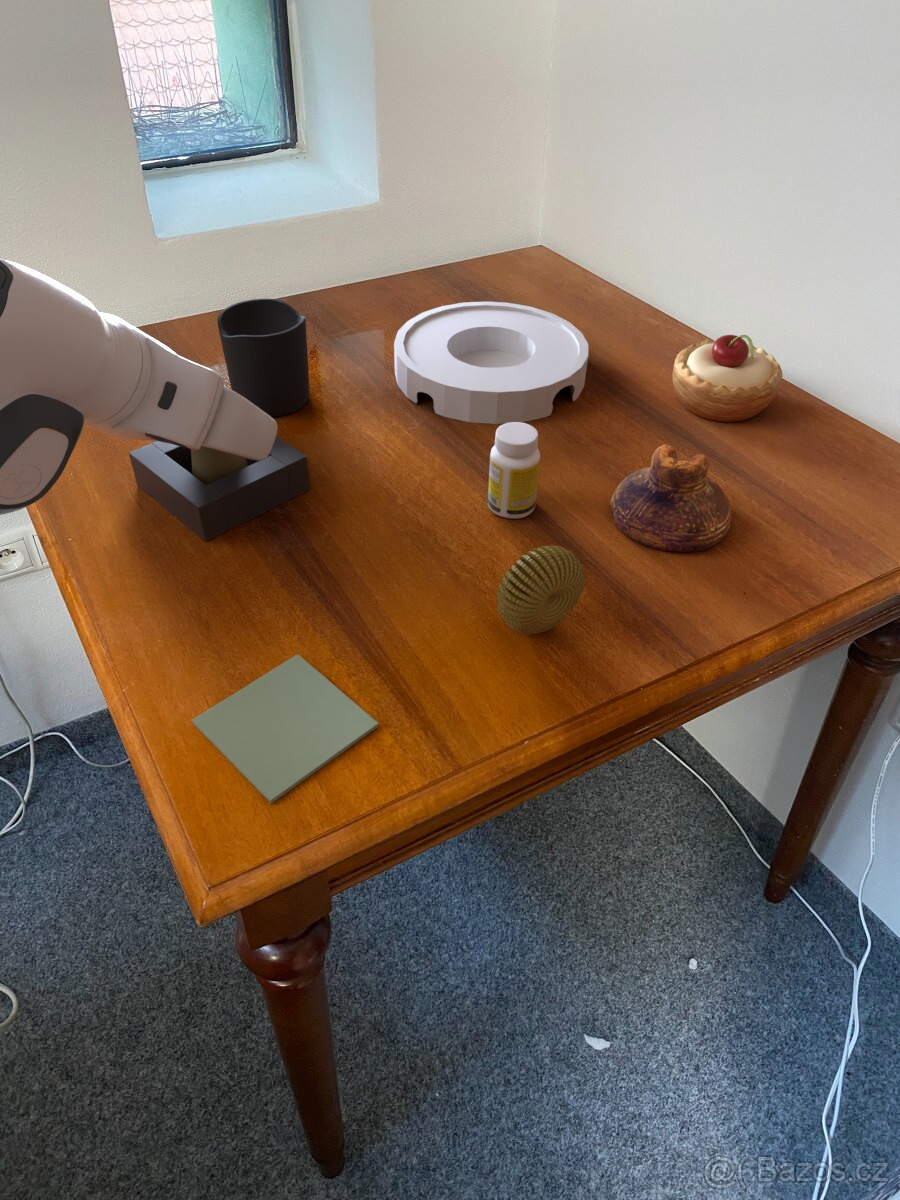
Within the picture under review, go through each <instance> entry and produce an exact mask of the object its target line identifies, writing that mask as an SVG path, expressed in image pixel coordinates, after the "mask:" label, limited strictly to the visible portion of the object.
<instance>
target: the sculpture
mask: <svg viewBox="0 0 900 1200" xmlns="http://www.w3.org/2000/svg"><path fill="white" fill-rule="evenodd" d="M499 583H500V584H499V586H498V589H497V595H496V606H497V610H498V614H499V616H500V618H501V620H502V621H503V622H504V623H505V625H506V626H507V627H509V628H510V629H512V630H513V631H515V632H517V633H521V634H525V635H536V634H540V633H544V632H546V631H549V630H551V629H553V628H555V627H556V626H557V625H560V624H561V623H562V621H564V620H565V619H567V616H570V614H571V612H573V610H574V609H575V607H576V606H577V605H578V603H579V601H580V599H581V597H582V595H583V591H584V587H585V572H584V567H583V565H582V563H581V561H580V559H579V558H578V557H577V555H576V554H575V553H574V552H572V551H570V550H569V549H568V548H565V547H563V546H560V545H550V544H549V545H542V546H539V547H535V548H533V549H531V550H529V551H527V552H526V553H524V554H522V555H520V557H519V558H516V560H515V561H514V563H512V564H511V565H510V566H509V568H508V569H507V570H506V571H505V574H504V575H503V576H502V579H501V581H500V582H499Z"/></svg>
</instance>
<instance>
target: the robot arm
mask: <svg viewBox="0 0 900 1200" xmlns="http://www.w3.org/2000/svg"><path fill="white" fill-rule="evenodd" d="M225 381H226V378H225V377H224V376H223V375H222V374H220V373H218V372H216V371H215V370H213V369H212V368H209V367H207V366H205V365H203V364H201V363H198V362H196V361H194V360H191V359H189V358H187V357H184V356H183V355H180V354H178V353H177V352H175V351H174V350H173V349H171V348H170V347H169V346H167V345H165V344H164V343H162V342H161V341H159V340H158V339H156V338H154V337H152V336H150V335H149V334H147V333H146V332H145V331H143V330H140V329H139V328H138V327H135V326H134V325H132V324H130V323H128V322H127V321H125V320H124V319H122V318H120V317H118V316H116V315H113V314H110V313H107V312H100V311H98V309H97V308H96V307H95V305H94V304H93V303H92V302H91V301H90V300H88V299H87V298H86V297H85V296H83V295H81V293H79V292H76V291H75V290H73V289H71V288H70V287H67V286H66V285H64V284H63V283H60V282H59V281H57V280H55V279H53V278H51V277H49V276H47V275H45V274H43V273H41V272H38V271H37V270H35V269H32V268H30V267H27V266H25V265H23V264H20V263H17V262H14V261H11V260H8V259H4V258H1V257H0V516H2V515H7V514H11V513H14V512H18V511H21V510H22V509H25V508H27V507H29V506H32V505H33V504H34V503H36V502H38V501H39V500H41V499H42V498H43V497H44V496H45V495H47V494H48V492H49V491H50V490H51V489H52V488H53V486H54V485H55V484H56V483H57V481H58V480H59V478H60V477H61V476H62V474H63V473H64V470H65V468H66V466H67V464H68V462H69V460H70V458H71V455H72V454H73V453H74V450H75V449H76V446H77V444H78V441H79V439H80V437H81V434H82V431H83V429H84V426H85V427H88V428H90V429H93V430H96V431H97V432H100V433H103V434H105V435H108V436H111V437H113V438H115V439H119V440H128V441H129V440H137V441H152V442H155V441H160V442H164V443H169V444H173V445H177V446H180V447H184V448H186V447H187V448H190V449H193V450H199V449H200V447H201V446H203V447H207V448H211V449H215V450H218V451H222V452H226V453H229V454H233V455H236V456H240V457H244V458H247V459H252V460H256V461H263V460H265V459H266V458H267V457H268V455H269V453H270V451H271V449H272V446H273V444H274V441H275V438H276V436H278V428H279V426H278V423H277V420H275V419H274V417H271V416H269V415H268V414H267V413H265V412H264V411H263V410H261V409H260V408H258V407H257V406H256V405H254V404H253V403H251V402H250V401H249V400H247V399H246V398H244V397H243V396H241V395H240V394H238V393H236V392H234V391H233V390H232V389H231V388H229V387H227V386H226V385H225ZM225 386H226V387H225Z"/></svg>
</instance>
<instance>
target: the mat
mask: <svg viewBox="0 0 900 1200" xmlns="http://www.w3.org/2000/svg"><path fill="white" fill-rule="evenodd" d="M191 723H192V725H193V726H194V727H196V728H197V729H198V731H199V732H201V734H202V735H203V736H204V737H205V738H206V739H207V740H208V741H209V742H210V743H211V744H212V745H213V747H215V748H216V749H217V750H218V751H219V752H220V753H221V754H222V755H223V756H224V757H225V758H226V759H227V761H229V762H230V764H231V765H233V766H234V768H235V769H236V770H238V772H239V773H240V774H241V775H242V776H243V777H244V778H245V779H246V780H247V781H248V782H249V783H250V784H251V785H252V786H253V787H254V788H255V789H256V790H257V791H258V792H259V794H261V795H262V796H263V797H264V799H266V800H267V801H268V802H269V804H273V803H274V802H276V801H277V800H279V799H280V798H282V797H283V796H284V795H285V794H287V793H288V792H290V791H291V790H292V789H294V788H295V787H296V786H298V785H300V784H301V783H303V782H304V781H305V780H306V779H308V778H309V777H310V776H312V775H313V774H315V773H316V772H317V771H319V770H320V769H321V768H323V767H325V766H327V764H329V763H330V762H331V761H333V760H335V758H338V756H340V755H341V754H343V753H344V752H345V751H346V750H348V749H349V748H351V747H352V746H354V745H355V744H357V742H359V741H361V740H362V739H363V738H364V737H366V736H367V735H369V734H370V733H372V732H373V731H375V730H376V729H377V728H378V727H379V726H380V725H379V722H378V721H377V720H376V719H374V718H373V716H371V715H370V714H369V713H368V712H366V711H365V710H364V709H363V708H362V707H361V706H360V705H358V704H357V703H356V702H354V700H352V699H351V698H350V697H349V696H347V695H346V694H345V693H344V692H343V691H342V690H340V689H339V688H338V687H337V686H336V685H335V684H334V683H332V682H331V681H330V680H329V679H328V678H327V677H325V676H324V675H323V674H322V673H321V672H319V671H318V669H316V668H315V667H314V666H313V665H311V664H310V663H309V662H308V661H307V660H305V659H304V658H303V657H302V656H301V655H300V654H298V653H297V654H295V655H294V656H292V657H289V659H287V660H286V661H284V662H282V663H281V664H279V665H277V666H276V667H274V668H273V669H271V670H269V671H268V672H266V673H265V674H263V675H262V676H260V677H259V678H257V679H255V680H253V681H251V682H250V683H249V684H247V685H245V686H244V687H242V688H240V689H239V690H237V691H236V692H234V693H232V694H231V695H229V696H227V697H226V698H225V699H223V700H221V701H219V702H218V703H216V704H215V705H213V706H212V707H210V708H208V709H207V710H205V711H204V712H202V713H200V714H199V715H197V716H196V717H194V718H192V719H191Z"/></svg>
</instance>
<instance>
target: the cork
mask: <svg viewBox="0 0 900 1200" xmlns="http://www.w3.org/2000/svg"><path fill="white" fill-rule="evenodd" d="M224 386H225V387H227V386H226V385H224ZM191 457H192V474H193V476H194V477H196V478H197V479H198V480H200V481H201V482H202V483H204V484H205V485H206V486H207V485H209V484H211V483H213V482H215V481H218V480H220V479H222V478H224V477H226V476H228V475H230V474H233V473H235V472H237V471H239V470H241V469H243V468H246V467H248V463H247V460H246V458H244V457H240V456H236V455H233V454H229V453H226V452H222V451H218V450H215V449H211V448H207V447H203V446H201V447H200V449H199V450H193V449H191Z"/></svg>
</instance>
